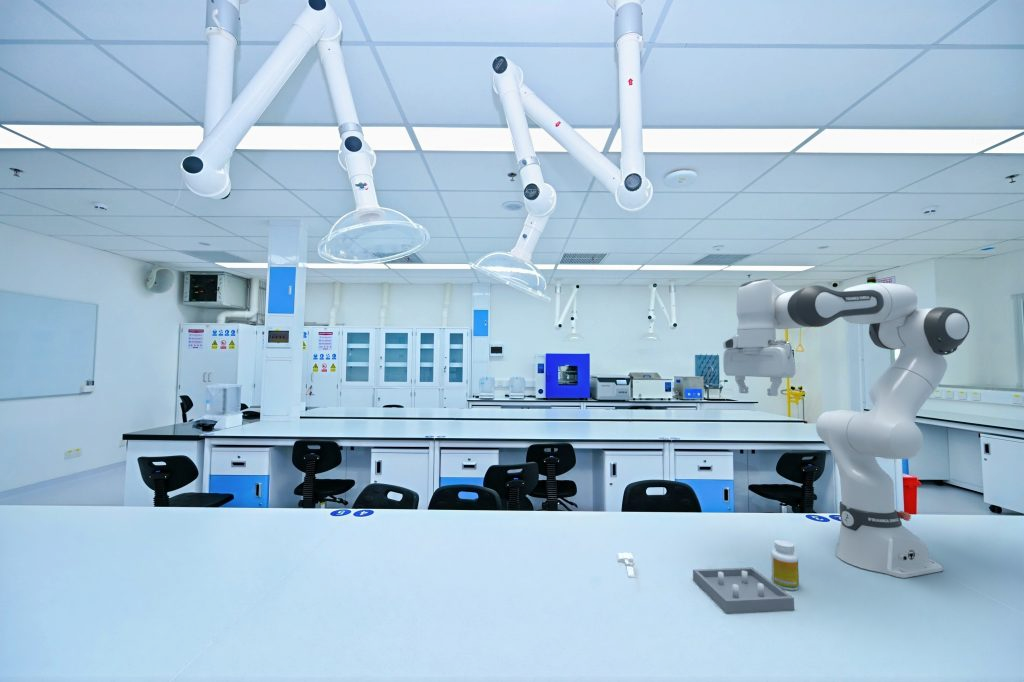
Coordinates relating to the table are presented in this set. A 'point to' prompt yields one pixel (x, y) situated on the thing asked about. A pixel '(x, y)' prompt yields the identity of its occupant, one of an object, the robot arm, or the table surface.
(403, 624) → the table surface
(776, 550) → the supplement bottle
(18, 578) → the table surface
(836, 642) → the table surface
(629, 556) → the syringe
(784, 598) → the pin tray
